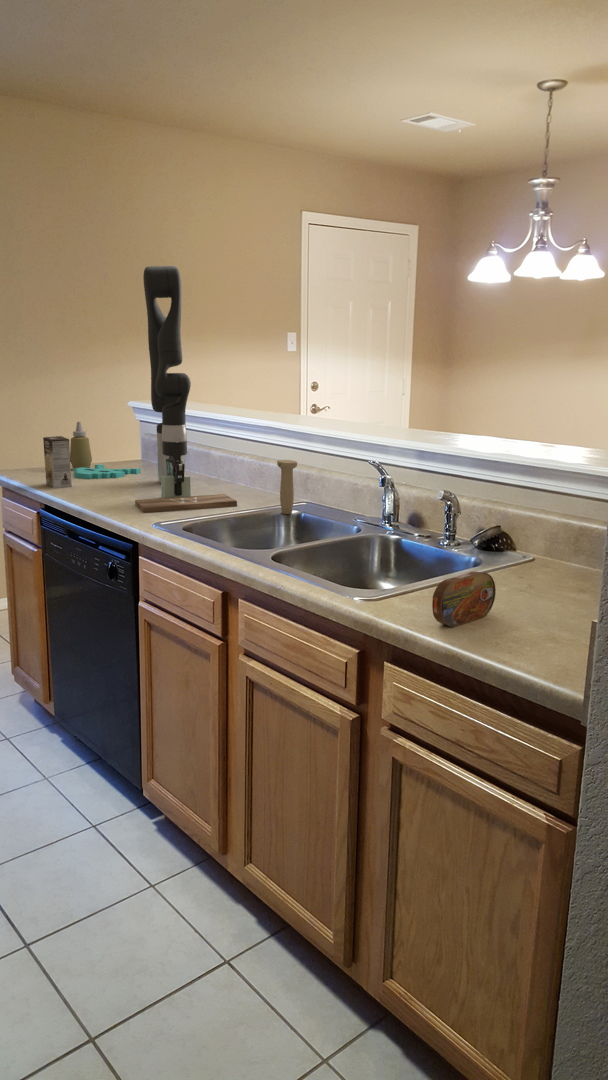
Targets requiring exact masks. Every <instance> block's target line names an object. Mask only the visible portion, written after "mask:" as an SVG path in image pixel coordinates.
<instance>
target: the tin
mask: <svg viewBox="0 0 608 1080" xmlns="http://www.w3.org/2000/svg"><path fill="white" fill-rule="evenodd" d="M495 583H496V582H495V580H494V579H493V577H492V576H491V575H490V573H487V572H481V571H480V572H479V571H470V572H466V573H462V574H459V575H456V576H453V577H449V578H446V579H445V578H444V580H442V581H441V582H439V584H438V585H437V586H436V588H435V590H434V591H433V594H432V603H431V605H432V609H431V610H432V615H433V618H434V619H435V620H436V622H438V623H439V624H441V625H444V626H445V625H446V626H448V627H450V628H456V627H459V626H463V625H464V624H469V623H471V622H473V621H476V620H480V619H482V618H485V617H486V616H487V615H488V614H489V612H490V611H491V610H492V608H493V605H494V602H495V598H496V584H495Z"/></svg>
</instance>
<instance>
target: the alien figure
mask: <svg viewBox="0 0 608 1080" xmlns="http://www.w3.org/2000/svg"><path fill="white" fill-rule="evenodd" d="M132 474H133V475H138V474H141V468H138V467H135V468H134V467H133V468H129V467H126V468H115V469H113V468H105V465H104V464H101V463H100V464H99V463H97V464H94V468H92V467H90V468H85V467H81V468H76V469H73V475H74V478H76V479H83V480H92V479H93V480H95V479H96V480H99V479H106V478H108V479H119V477H120V478H124V476H125V475H132Z"/></svg>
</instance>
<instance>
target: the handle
mask: <svg viewBox="0 0 608 1080" xmlns="http://www.w3.org/2000/svg"><path fill="white" fill-rule="evenodd" d="M276 462H277V464H276V465H277V467H278V468H279V469H280V471H281V475H280V489H279V491H280V492H279V502H280V508H281V514H282V515H291V514H292V513H293V507H294V502H295V501H294V498H295V497H294V495H295V491H294V469H295V468H297V467H298V462H297V460H293V459H279V460H277V461H276Z"/></svg>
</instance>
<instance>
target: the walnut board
mask: <svg viewBox="0 0 608 1080" xmlns="http://www.w3.org/2000/svg"><path fill="white" fill-rule="evenodd" d="M134 504H135V505H134V506H136V507H137V508H139V510H140V511H142V512H143V513H156V512H157V513H158V512H159V513H160V512H169V511H171V512H172V511H173V512H174V511H184V510H186V511H187V510H198V509H199V510H201V509H213V508H224V507H226V508H228V507H238V501H237V500H236V499H234V498H232V497H231V496H229V495H227V494H225V493H221V494H205V495H203V494H202V495H191V496H188V497H172V498H162V497H160V498H159V497H158V498H146V499H135V500H134ZM200 508H201V509H200Z"/></svg>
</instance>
